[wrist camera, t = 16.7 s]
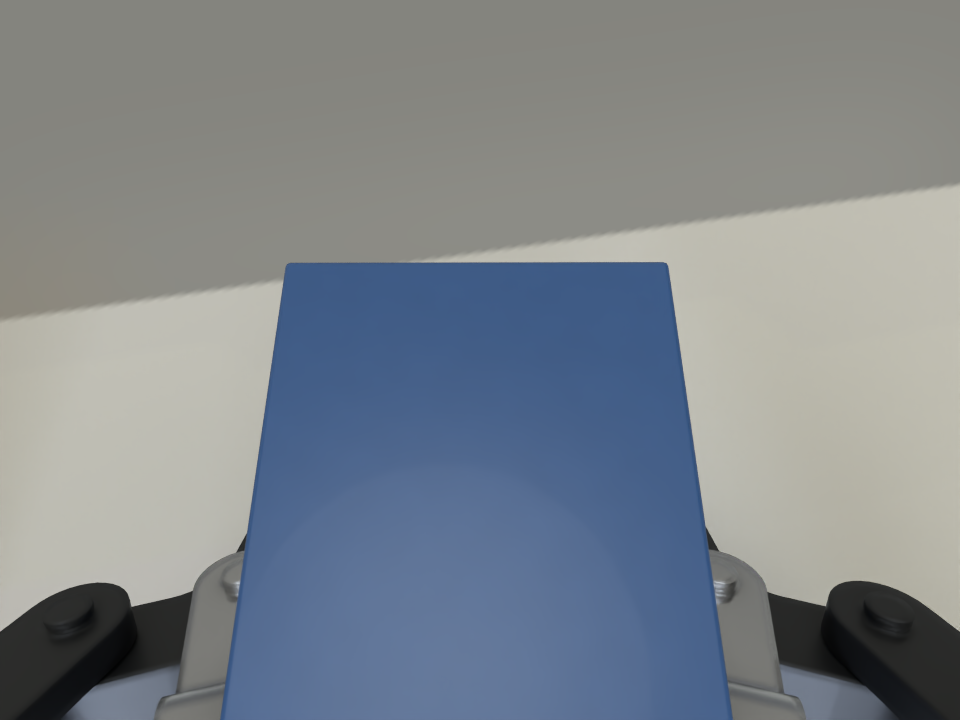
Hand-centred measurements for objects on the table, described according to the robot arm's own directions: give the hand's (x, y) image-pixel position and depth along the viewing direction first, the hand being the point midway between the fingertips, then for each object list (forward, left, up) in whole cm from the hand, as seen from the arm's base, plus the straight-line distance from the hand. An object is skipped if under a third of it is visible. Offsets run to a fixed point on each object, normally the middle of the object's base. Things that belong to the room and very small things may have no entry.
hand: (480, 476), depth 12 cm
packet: (0, -2, -4) cm, 5 cm away
